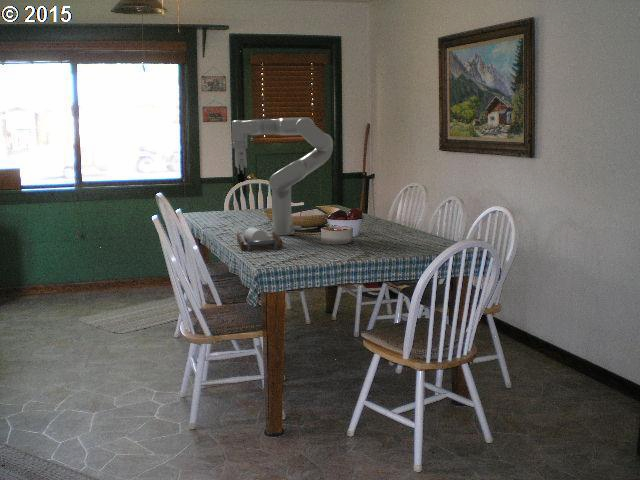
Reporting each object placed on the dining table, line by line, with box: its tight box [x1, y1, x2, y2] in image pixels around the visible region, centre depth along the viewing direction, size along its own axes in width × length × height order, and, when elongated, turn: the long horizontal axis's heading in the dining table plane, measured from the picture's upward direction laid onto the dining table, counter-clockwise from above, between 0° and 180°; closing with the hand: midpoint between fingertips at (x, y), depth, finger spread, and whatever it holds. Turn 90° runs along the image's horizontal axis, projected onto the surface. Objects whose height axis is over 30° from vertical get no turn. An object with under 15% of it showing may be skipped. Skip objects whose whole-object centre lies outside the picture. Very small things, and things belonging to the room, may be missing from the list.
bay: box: [236, 230, 283, 252], centre depth 358 cm, size 18×30×4 cm, turn 10°
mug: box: [243, 227, 273, 244], centre depth 358 cm, size 12×10×8 cm
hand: (240, 181), depth 389 cm, fingers closed
